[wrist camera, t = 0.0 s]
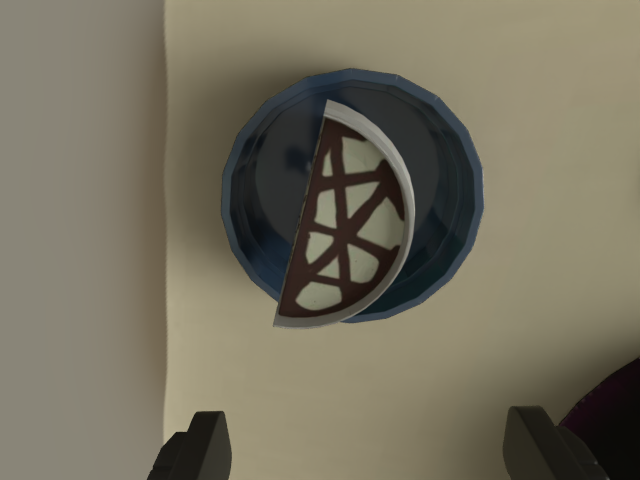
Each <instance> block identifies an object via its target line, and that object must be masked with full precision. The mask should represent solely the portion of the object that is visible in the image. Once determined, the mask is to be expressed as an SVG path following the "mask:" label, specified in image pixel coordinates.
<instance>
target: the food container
mask: <svg viewBox="0 0 640 480" xmlns="http://www.w3.org/2000/svg"><path fill="white" fill-rule="evenodd" d="M414 221H415V202H414V192H413V188H412V184H411V179H410V175H409V173H408V171H407V168H406V166H405V164H404V161H403V159H402V157H401V156H400V154H399V153H398V151H397V149H396V148H395V146H394V145H393V143H392V142H391V141H390V140H389V139H388V137H387V136H386V135H385V134H384V133H383V132H382V131H381V130H380V129H379V128H378V127H377V126H376V125H375V124H373V123H372V122H371V121H369V120H368V119H367V118H366V117H364V116H363V115H361V114H360V113H358V112H356V111H354V110H352V109H351V108H349V107H347V106H345V105H342V104H340V103H337V102H334V101H331V100H328V99H327V103H326V107H325V111H324V115H323V120H322V124H321V128H320V132H319V136H318V140H317V144H316V149H315V153H314V157H313V161H312V165H311V169H310V173H309V178H308V182H307V186H306V190H305V194H304V198H303V202H302V207H301V211H300V215H299V219H298V223H297V227H296V231H295V236H294V240H293V244H292V248H291V252H290V256H289V261H288V265H287V269H286V273H285V277H284V281H283V285H282V290H281V294H280V298H279V302H278V306H277V310H276V314H275V319H274V323H273V327H280V328H287V329H309V328H318V327H323V326H327V325H331V324H335V323H338V322H340V321H343V320H345V319H348V318H350V317H352V316H354V315H356V314H357V313H359V312H361V311H362V310H364V309H366V308H367V307H368V306H369V305H371V304H372V303H373V302H374V301H376V300H377V299H378V298H379V297H380V296H381V295H382V294H383V293H384V292H385V290H386V289H387V288H388V287H389V286H390V285H391V284H392V282H393V281H394V279H395V278H396V276H397V275H398V273H399V272H400V270H401V269H402V267H403V264H404V262H405V260H406V258H407V256H408V253H409V249H410V246H411V242H412V239H413V231H414Z"/></svg>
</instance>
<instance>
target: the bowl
mask: <svg viewBox="0 0 640 480" xmlns="http://www.w3.org/2000/svg"><path fill="white" fill-rule="evenodd" d="M327 99H328V100H331V101H334V102H337V103H340V104H342V105H345V106H347V107H349V108H351V109H352V110H354V111H356V112H358V113H360V114H361V115H363V116H364V117H366V118H367V119H368V120H369V121H371V122H372V123H373V124H375V125H376V126H377V127H378V128H379V129H380V130H381V131H382V132H383V133H384V134H385V135H386V136H387V137H388V139H389V140H390V141H391V142H392V143H393V145H394V146H395V148H396V149H397V151H398V153H399V154H400V156H401V157H402V159H403V161H404V164H405V166H406V168H407V171H408V173H409V175H410V179H411V184H412V188H413V192H414V202H415V221H414V231H413V239H412V242H411V246H410V249H409V253H408V256H407V258H406V260H405V262H404V264H403V267H402V269H401V270H400V272H399V273H398V275H397V276H396V278H395V279H394V281H393V282H392V284H391V285H390V286H389V287H388V288H387V289H386V290H385V292H384V293H383V294H382V295H381V296H380V297H379V298H378V299H377V300H376V301H374V302H373V303H372V304H371V305H369V306H368V307H367V308H366V309H364V310H362V311H361V312H359V313H357V314H356V315H354V316H352V317H350V318H348V319H345V320H343V321H340V322H343V323H358V322H365V321H372V320H379V319H386V318H389V317H391V316H394V315H396V314H398V313H401V312H403V311H405V310H408V309H410V308H412V307H415V306H417V305H419V304H421V303H423V302H424V301H425V300H426V299H428V298H429V297H430V296H431V295H433V294H434V293H435V292H436V291H437V290H439V289H440V288H441V287H442V286H444V285H445V284H446V283H447V282H449V281H450V280H451V279H452V277H453V276H454V274H455V273H456V272H457V270H458V269H459V267H460V266H461V264H462V263H463V261H464V260H465V258H466V257H467V255H468V254H469V252H470V251H471V250H472V248H473V245H474V242H475V239H476V235H477V232H478V229H479V225H480V222H481V219H482V215H483V212H484V183H483V167H482V165H481V162H480V159H479V157H478V154H477V152H476V149H475V147H474V144H473V142H472V139H471V137H470V134H469V132H468V130H467V128H466V127H465V126H464V125H463V124H462V122H461V121H460V120H459V119H458V118H457V117H456V116H455V115H454V113H453V112H452V111H451V110H450V109H449V108H448V107H447V106H446V105H445V103H444V102H443V101H442V100H441V99H440V98H439V97H438V96H437V95H435V94H433V93H431V92H429V91H427V90H426V89H424V88H422V87H420V86H418V85H416V84H414V83H412V82H411V81H409V80H407V79H405V78H403V77H401V76H399V75H396V74H389V73H382V72H376V71H369V70H362V69H355V68H349V69H344V70H339V71H334V72H329V73H324V74H319V75H314V76H309V77H306V78H304V79H302V80H300V81H299V82H297V83H295V84H293V85H292V86H290V87H288V88H287V89H285V90H283V91H282V92H280V93H278V94H277V95H275V96H273V97H271V98H270V99H268V100H267V101H265V103H264V104H263V105H262V106H261V107H260V109H259V110H258V111H257V112H256V113H255V114H254V116H253V117H252V118H251V119H250V120H249V121H248V123H247V124H246V125H245V126H244V127H243V129H242V130H241V131H240V132H239V133H238V135H237V137H236V140H235V143H234V145H233V148H232V150H231V153H230V155H229V158H228V160H227V163H226V166H225V168H224V171H223V174H222V197H221V216H222V219H223V222H224V226H225V229H226V233H227V236H228V240H229V243H230V247H231V250H232V252H233V253H234V255H235V256H236V258H237V259H238V261H239V262H240V264H241V265H242V267H243V268H244V270H245V271H246V273H247V274H248V276H249V277H250V279H251V280H252V281H253V282H254V283H255V284H256V285H257V286H259V287H260V288H261V289H262V290H264V291H265V292H266V293H267V294H268V295H270V296H271V297H272V298H273V299H275V300H276V301H277V302H279V298H280V294H281V290H282V285H283V281H284V277H285V273H286V269H287V265H288V261H289V256H290V252H291V248H292V244H293V240H294V236H295V231H296V227H297V223H298V219H299V215H300V211H301V207H302V202H303V198H304V194H305V190H306V186H307V182H308V178H309V173H310V169H311V165H312V161H313V157H314V153H315V149H316V144H317V140H318V136H319V132H320V128H321V124H322V120H323V115H324V111H325V107H326V103H327Z"/></svg>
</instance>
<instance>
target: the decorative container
mask: <svg viewBox="0 0 640 480" xmlns="http://www.w3.org/2000/svg"><path fill="white" fill-rule="evenodd" d="M559 426H565V427H566V428H568V429H569V430H570V431H571V432H572V433H574V434H575V435H576V436H577V437H578V438H580V439H581V440H582V441H583V442H584V443H585V444H586V445H587V447H588V448H589V450H590V451H591V453H592V454H593V455H594V457H595V458H596V460H597V461H598V465H599V466H601V467H602V468H603V470H604V471H605V472H606V474H607V475H608V477H609V480H640V358H638V359H637V360H635V361H633V362H632V363H630V364H628V365H627V366H625V367H624V368H622V369H620V370H619V371H617V372H615V373H614V374H612V375H611V376H610V377H608V378H607V379H606V380H605V381H604V382H602V383H601V384H600V385H599V386H598V387H597V388H595V389H594V390H593V391H592V392H591V393H589V394H588V395H587V396H586V397H585V398H583V399H582V400H581V401H580V402H579V403H578V404H577V405H576V406H575V407H574V409H573V410H572V411H571V412H570V413H569V415H568V416H567V417H566V418H565V419H564V420H563V422H562V423H561V424H560V425H559Z"/></svg>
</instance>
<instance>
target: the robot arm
mask: <svg viewBox="0 0 640 480" xmlns="http://www.w3.org/2000/svg"><path fill="white" fill-rule="evenodd" d="M503 457H504V462H505V466H506V469H507V472H508V474H509V476H510V478H511V480H609V477H608V475H607V474H606V472H605V471H604V470H603V468H602V467H601V466H599V465H598V461H597V460H596V458H595V457H594V455H593V454H592V453H591V451H590V450H589V448H588V447H587V445H586V444H585V443H584V442H583V441H582V440H581V439H580V438H578V437H577V436H576V435H575V434H574V433H572V432H571V431H570V430H569V429H568V428H566V427H565V426H555V425H554V424H553V422H552V421H551V419H550V418H549V416H548V415H547V413H546V412H545V410H544V409H543V408H542V407H541V406H511V407H510V408H509V410H508V416H507V422H506V429H505V435H504V442H503ZM231 461H232V452H231V445H230V439H229V434H228V429H227V423H226V418H225V414H224V412H223V411H202V412H196V413H195V415H194V416H193V419H192V421H191V423H190V426H189V428H188V431H187V432H176V433H175V434H174V435H173V436H172V437H171V438H170V439H169V440H168V441H167V443H166V444H165V445H164V446H163V447H162V448H161V450H160V452H159V454H158V456H157V459H156V461H155V463H154V465H153V470H151V472H150V474H149V476H148V478H147V480H228V479H229V475H230V470H231Z"/></svg>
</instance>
